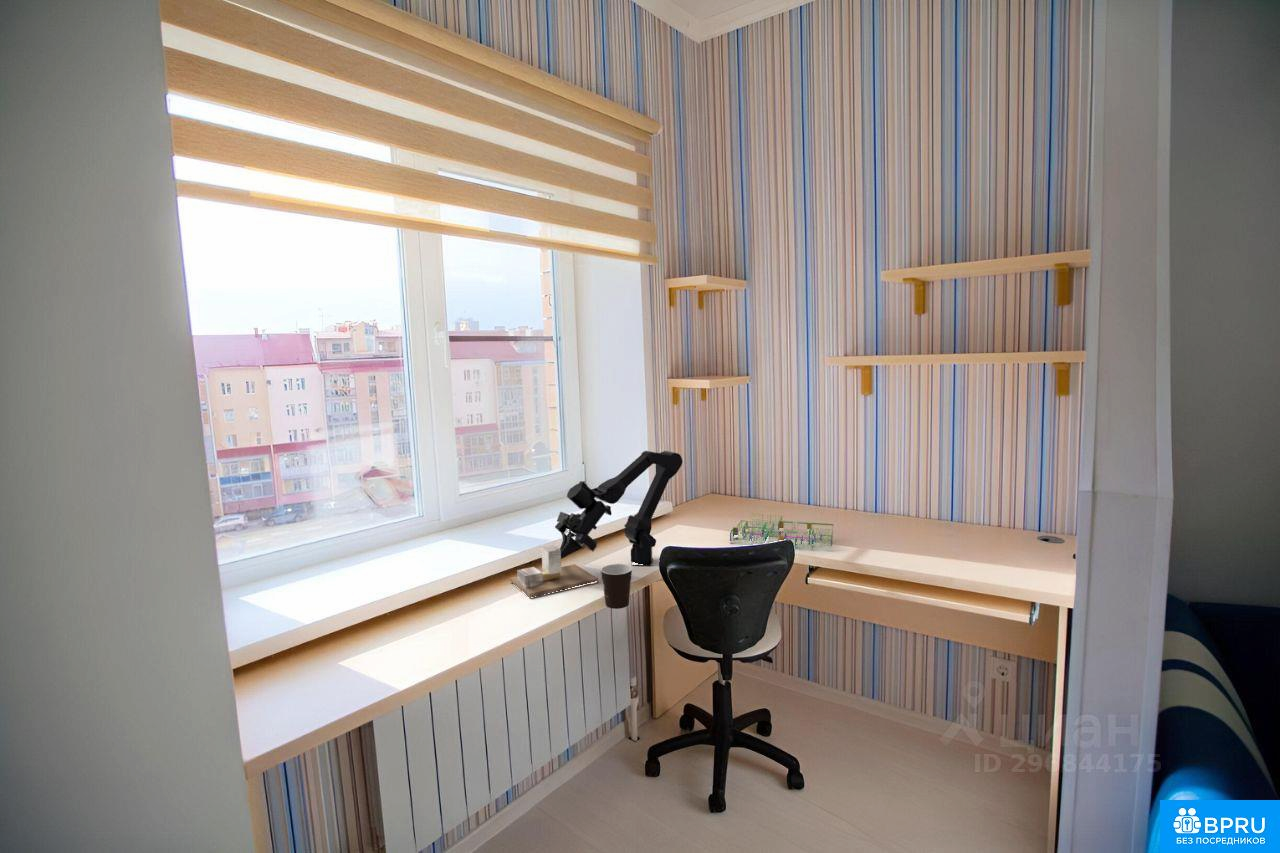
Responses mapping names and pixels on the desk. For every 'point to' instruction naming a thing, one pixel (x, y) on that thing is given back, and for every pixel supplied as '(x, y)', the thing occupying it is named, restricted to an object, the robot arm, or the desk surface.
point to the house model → (780, 525)
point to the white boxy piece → (551, 562)
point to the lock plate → (534, 586)
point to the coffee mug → (616, 585)
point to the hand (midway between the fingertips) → (558, 558)
